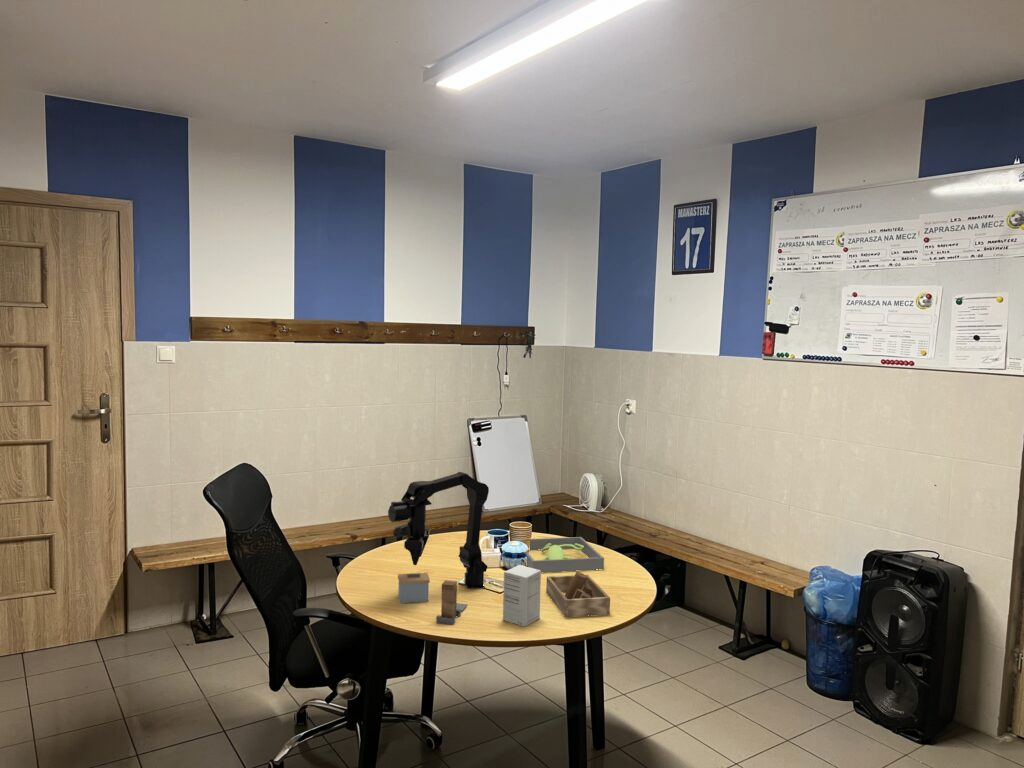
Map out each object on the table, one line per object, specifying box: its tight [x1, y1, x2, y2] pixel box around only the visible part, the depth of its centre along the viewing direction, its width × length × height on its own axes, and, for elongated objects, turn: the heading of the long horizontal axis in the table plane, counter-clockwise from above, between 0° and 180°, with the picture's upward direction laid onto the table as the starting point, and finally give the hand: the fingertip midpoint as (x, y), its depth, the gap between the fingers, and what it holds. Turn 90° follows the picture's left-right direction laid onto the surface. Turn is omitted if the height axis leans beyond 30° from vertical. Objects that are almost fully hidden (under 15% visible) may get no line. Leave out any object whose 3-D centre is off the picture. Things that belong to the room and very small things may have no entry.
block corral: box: [545, 574, 611, 618], centre depth 267 cm, size 16×24×6 cm, turn 13°
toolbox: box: [397, 572, 431, 604], centre depth 266 cm, size 11×8×9 cm
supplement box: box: [502, 564, 542, 627], centre depth 250 cm, size 10×9×17 cm
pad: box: [456, 602, 468, 613], centre depth 259 cm, size 6×6×1 cm
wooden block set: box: [564, 571, 592, 599], centre depth 266 cm, size 18×9×10 cm, turn 174°
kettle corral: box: [526, 536, 605, 574], centre depth 315 cm, size 30×30×5 cm
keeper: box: [435, 609, 462, 625], centre depth 249 cm, size 8×6×2 cm
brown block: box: [440, 579, 458, 619], centre depth 249 cm, size 4×4×12 cm
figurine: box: [540, 543, 584, 560], centre depth 314 cm, size 18×27×6 cm
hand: (417, 560), depth 267 cm, fingers open, 9 cm apart
